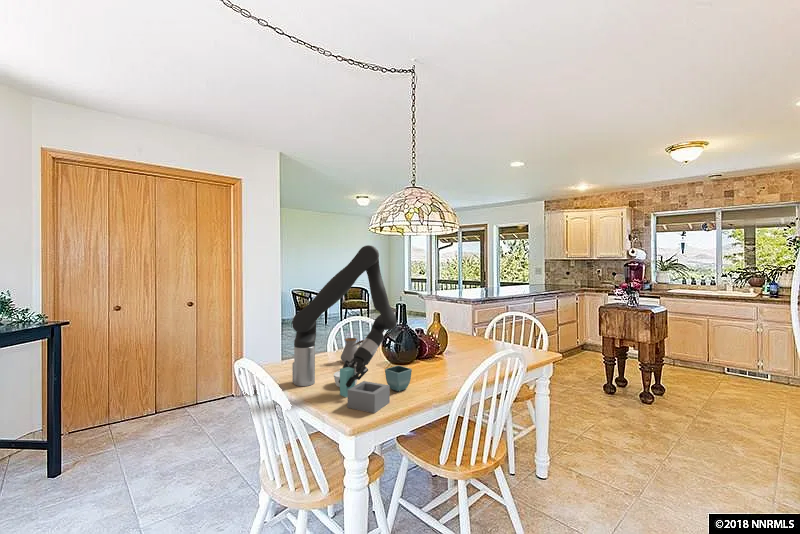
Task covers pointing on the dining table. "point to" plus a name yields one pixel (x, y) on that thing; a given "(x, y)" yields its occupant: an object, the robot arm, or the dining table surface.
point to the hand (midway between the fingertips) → (343, 384)
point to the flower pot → (398, 377)
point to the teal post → (345, 380)
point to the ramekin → (337, 377)
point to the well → (368, 396)
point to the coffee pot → (349, 349)
